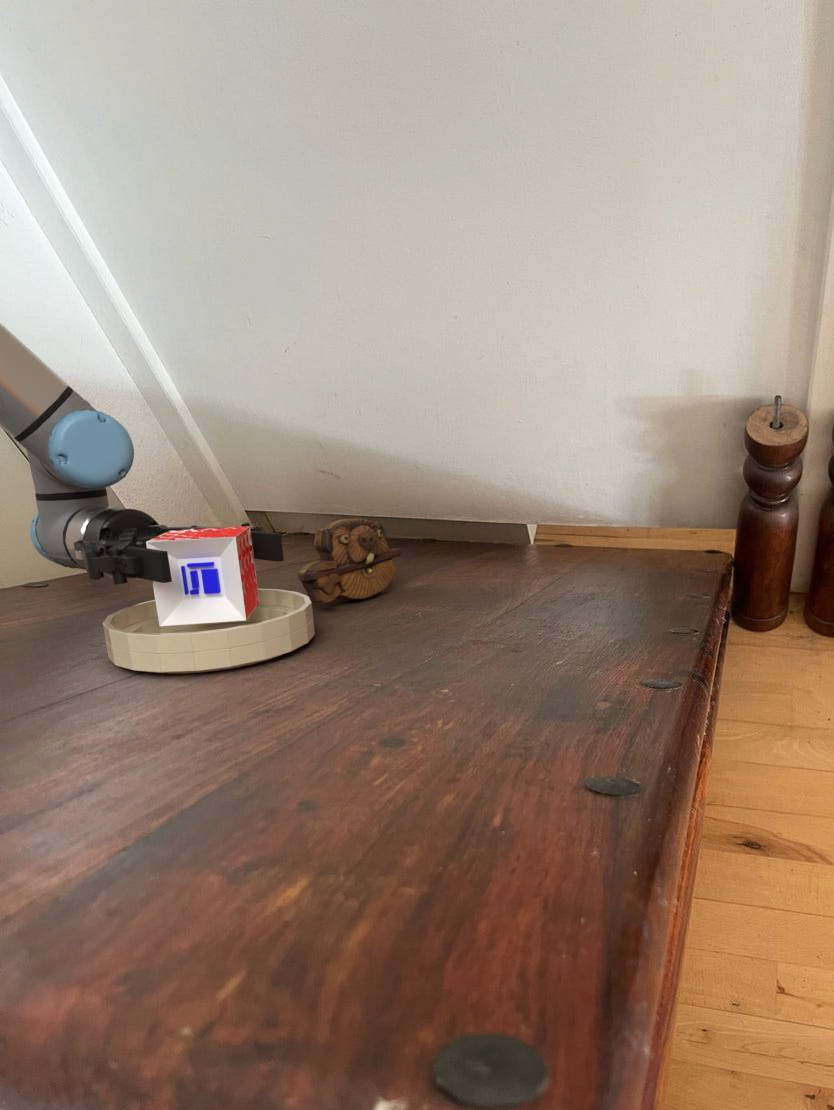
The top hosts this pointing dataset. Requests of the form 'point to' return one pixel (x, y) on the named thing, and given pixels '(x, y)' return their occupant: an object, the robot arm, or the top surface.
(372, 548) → the wooden carving
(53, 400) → the robot arm
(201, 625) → the bowl
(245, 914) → the top surface
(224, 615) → the red boxy piece
